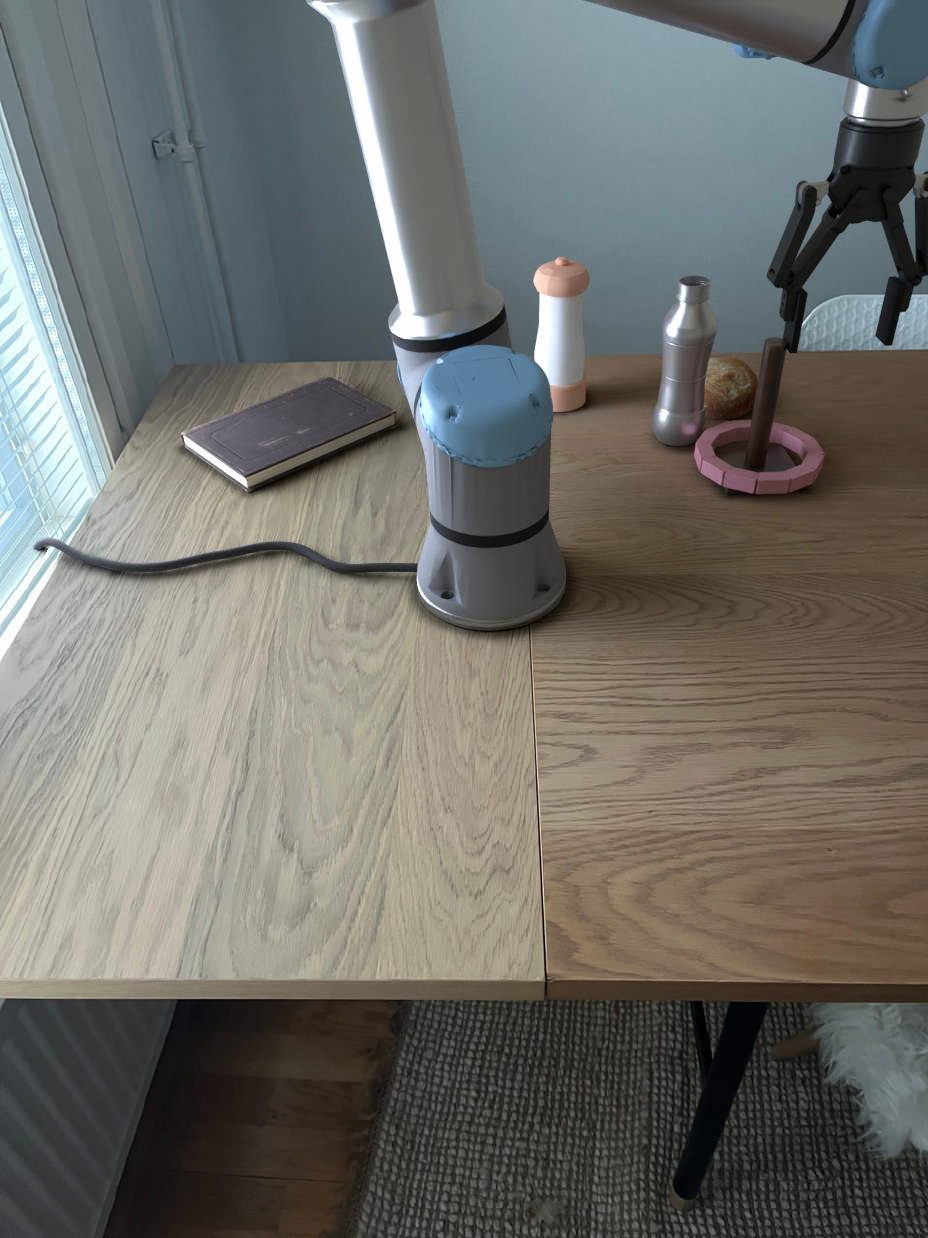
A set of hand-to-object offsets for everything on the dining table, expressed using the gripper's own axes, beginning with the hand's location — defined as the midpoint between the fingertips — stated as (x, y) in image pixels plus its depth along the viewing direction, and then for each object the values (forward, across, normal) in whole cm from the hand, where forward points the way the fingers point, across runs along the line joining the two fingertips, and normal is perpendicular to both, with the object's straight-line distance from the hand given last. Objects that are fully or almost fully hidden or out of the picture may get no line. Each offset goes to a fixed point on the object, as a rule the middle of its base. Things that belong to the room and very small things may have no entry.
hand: (836, 344), depth 103 cm
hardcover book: (+15, -63, +17) cm, 67 cm away
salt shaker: (+15, -27, +22) cm, 38 cm away
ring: (+14, -7, 0) cm, 16 cm away
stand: (+15, -7, 0) cm, 17 cm away
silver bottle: (+15, -14, +9) cm, 23 cm away
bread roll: (+16, -6, +18) cm, 25 cm away
